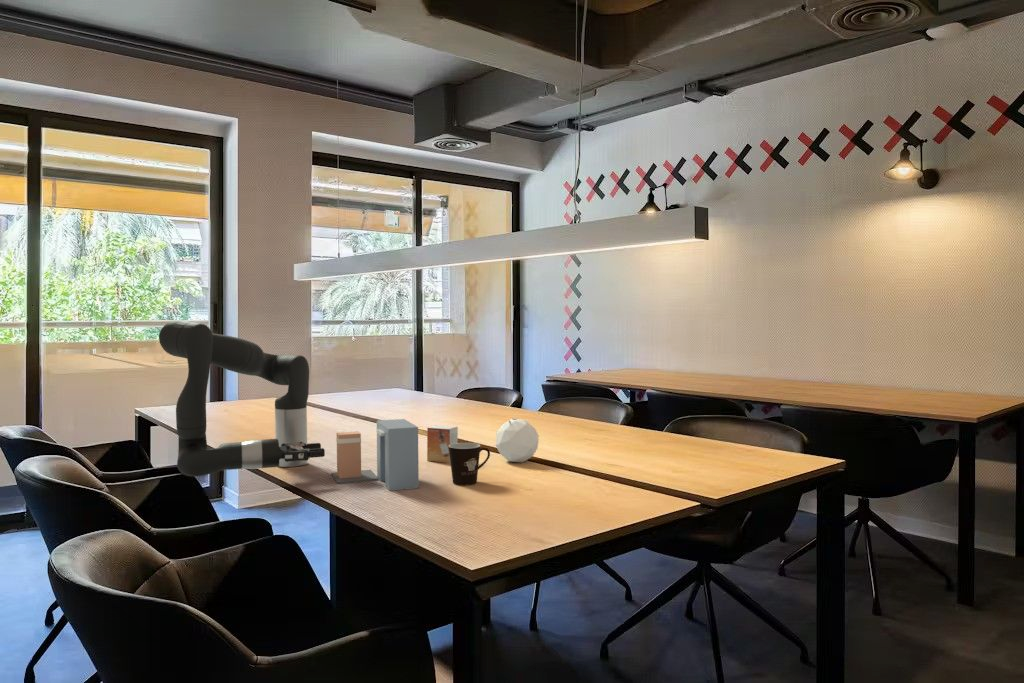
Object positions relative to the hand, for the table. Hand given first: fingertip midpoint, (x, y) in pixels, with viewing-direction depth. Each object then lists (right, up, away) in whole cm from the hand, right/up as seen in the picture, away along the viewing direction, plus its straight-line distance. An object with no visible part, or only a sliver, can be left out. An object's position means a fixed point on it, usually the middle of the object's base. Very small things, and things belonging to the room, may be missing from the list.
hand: (322, 449), depth 199 cm
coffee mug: (+41, -9, -3) cm, 42 cm away
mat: (+8, -8, +3) cm, 12 cm away
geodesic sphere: (+54, -7, +24) cm, 59 cm away
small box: (+30, -8, +26) cm, 41 cm away
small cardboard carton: (+7, -8, +3) cm, 11 cm away
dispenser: (+21, -8, -4) cm, 22 cm away
